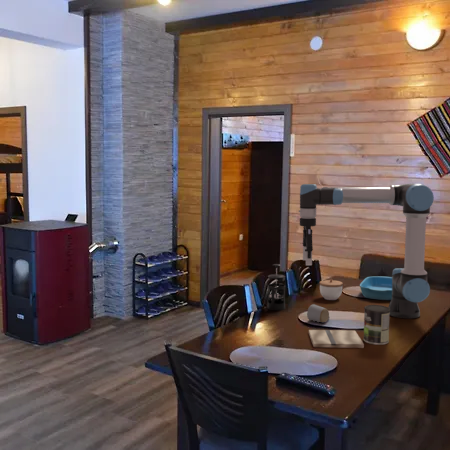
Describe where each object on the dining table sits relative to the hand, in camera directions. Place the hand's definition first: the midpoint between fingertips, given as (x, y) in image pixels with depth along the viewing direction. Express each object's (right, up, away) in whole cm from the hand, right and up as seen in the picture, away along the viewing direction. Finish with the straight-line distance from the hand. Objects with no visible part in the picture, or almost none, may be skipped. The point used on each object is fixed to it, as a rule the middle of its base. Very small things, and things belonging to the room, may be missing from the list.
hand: (307, 262), depth 244 cm
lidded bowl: (+20, -23, +46) cm, 56 cm away
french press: (-12, -26, +27) cm, 39 cm away
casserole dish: (+52, -23, +57) cm, 80 cm away
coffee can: (+25, -31, -26) cm, 47 cm away
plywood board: (+8, -31, -25) cm, 40 cm away
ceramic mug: (+6, -28, +3) cm, 29 cm away
